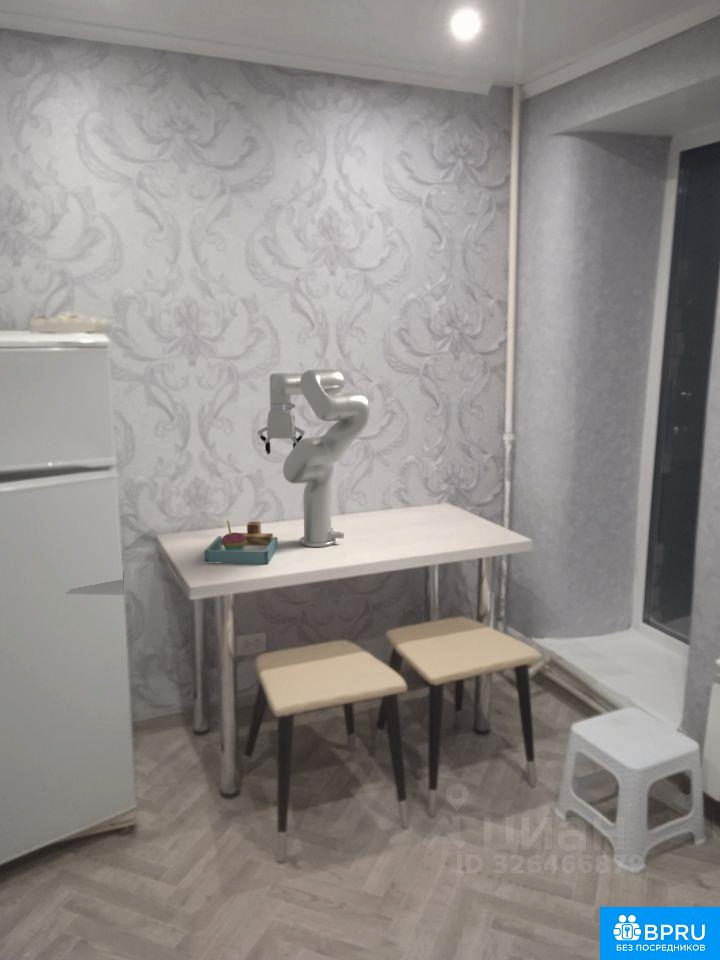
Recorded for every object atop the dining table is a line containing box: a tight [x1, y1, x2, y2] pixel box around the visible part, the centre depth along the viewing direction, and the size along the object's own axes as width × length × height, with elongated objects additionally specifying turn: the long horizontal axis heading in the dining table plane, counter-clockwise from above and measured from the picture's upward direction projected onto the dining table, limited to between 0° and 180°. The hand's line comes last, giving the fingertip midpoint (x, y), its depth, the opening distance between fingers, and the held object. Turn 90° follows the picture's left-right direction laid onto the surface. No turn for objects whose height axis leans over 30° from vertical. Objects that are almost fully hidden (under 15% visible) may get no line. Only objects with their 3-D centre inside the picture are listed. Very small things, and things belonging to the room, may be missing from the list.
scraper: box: [240, 521, 274, 546], centre depth 256 cm, size 14×8×6 cm, turn 86°
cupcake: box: [221, 519, 247, 551], centre depth 241 cm, size 9×8×12 cm
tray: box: [203, 535, 279, 565], centre depth 240 cm, size 20×17×4 cm
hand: (281, 453), depth 269 cm, fingers open, 9 cm apart
